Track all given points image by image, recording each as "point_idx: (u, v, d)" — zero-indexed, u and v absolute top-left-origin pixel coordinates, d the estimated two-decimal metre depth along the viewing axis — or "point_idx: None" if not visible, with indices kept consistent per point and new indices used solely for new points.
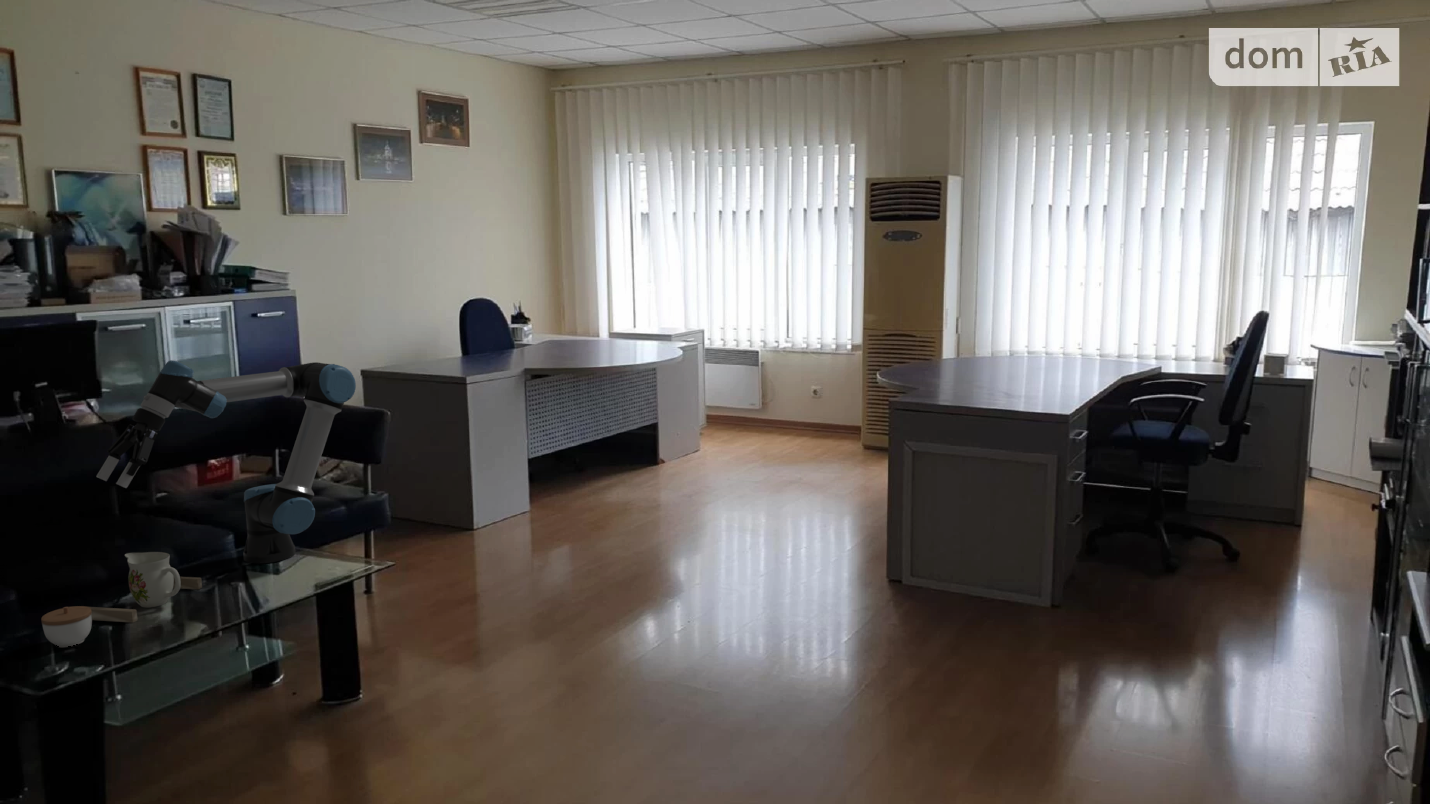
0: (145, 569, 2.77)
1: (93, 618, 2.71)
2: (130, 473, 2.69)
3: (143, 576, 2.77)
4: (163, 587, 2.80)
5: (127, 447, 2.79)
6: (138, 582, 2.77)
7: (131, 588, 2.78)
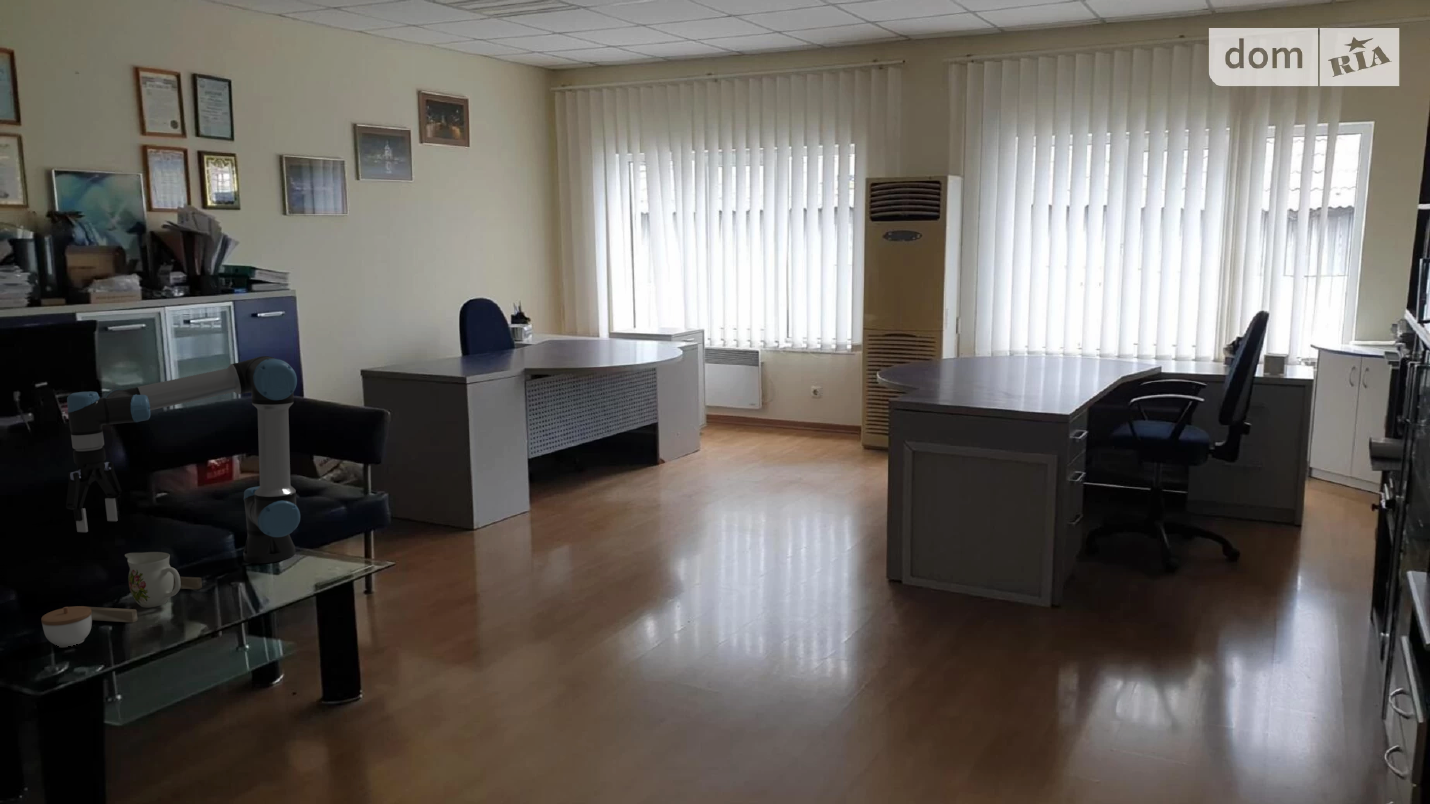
0: (145, 569, 2.77)
1: (93, 618, 2.71)
2: (76, 519, 2.75)
3: (143, 576, 2.77)
4: (163, 587, 2.80)
5: (105, 485, 2.84)
6: (138, 582, 2.77)
7: (131, 588, 2.78)
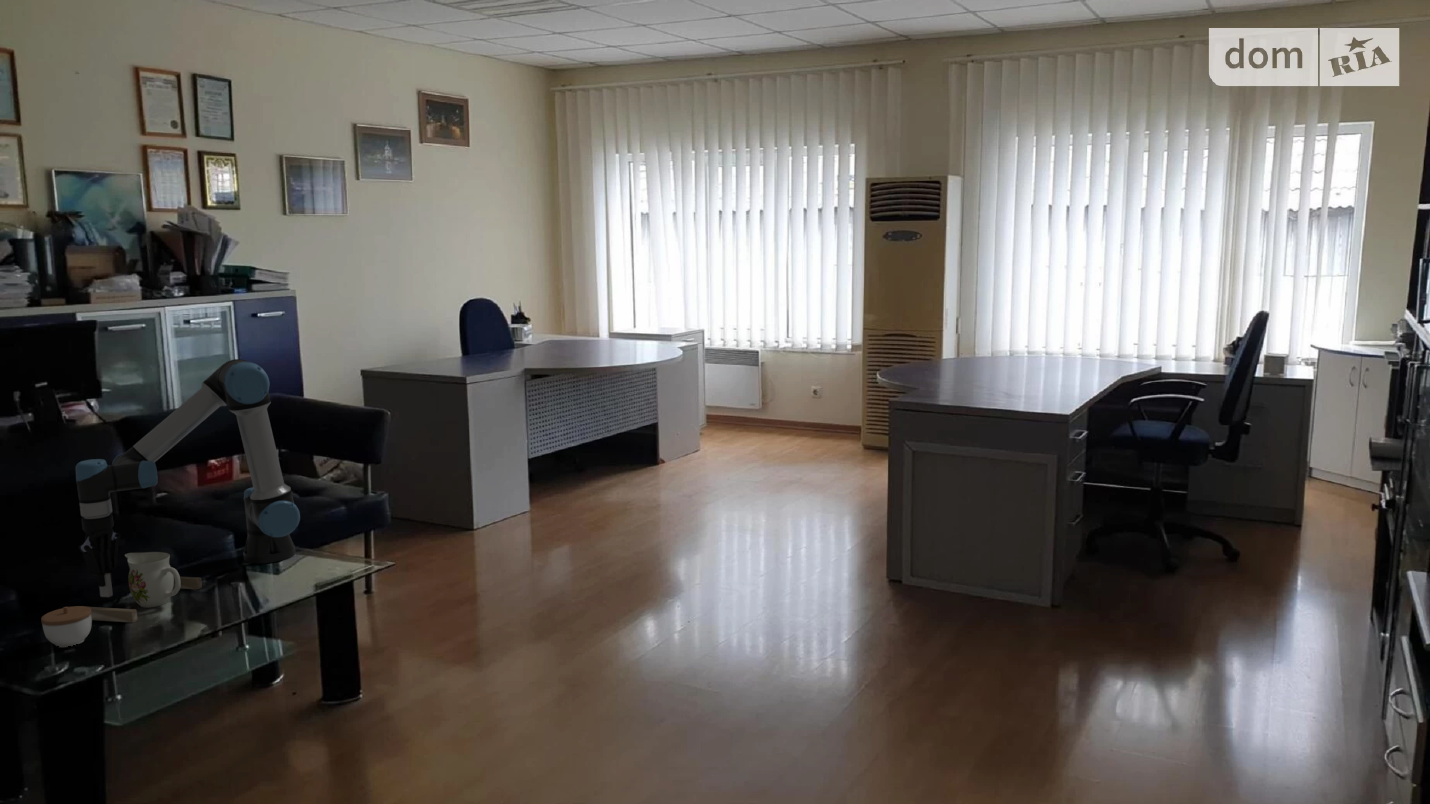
0: (145, 569, 2.77)
1: (93, 618, 2.71)
2: (99, 585, 2.83)
3: (143, 576, 2.77)
4: (163, 587, 2.80)
5: (105, 555, 2.84)
6: (138, 582, 2.77)
7: (131, 588, 2.78)
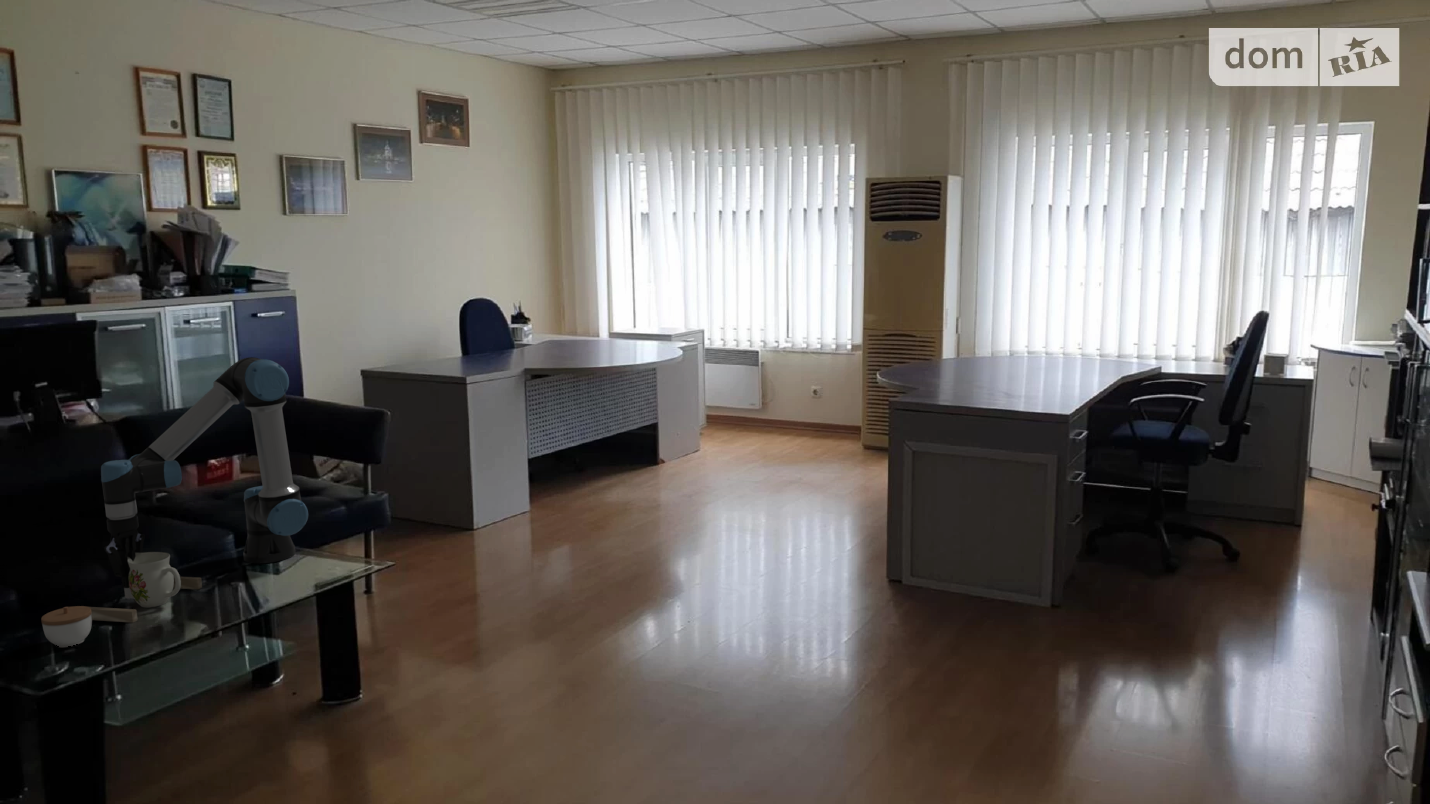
0: (145, 569, 2.77)
1: (93, 618, 2.71)
2: (124, 586, 2.82)
3: (144, 576, 2.77)
4: (163, 587, 2.80)
5: (130, 556, 2.83)
6: (138, 582, 2.77)
7: (131, 588, 2.78)
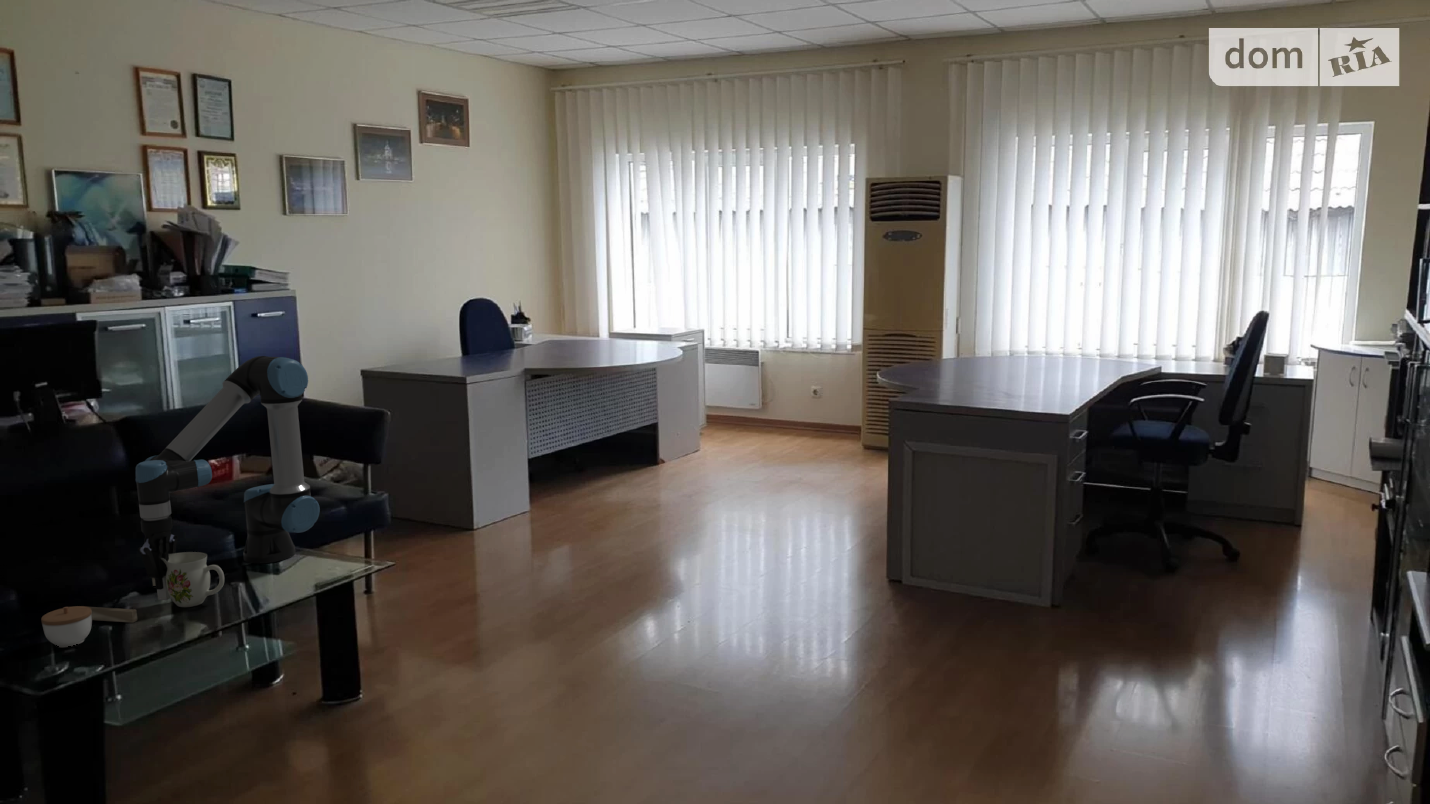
0: (189, 568, 2.77)
1: (93, 618, 2.71)
2: (157, 587, 2.80)
3: (187, 575, 2.77)
4: (205, 585, 2.81)
5: (163, 557, 2.81)
6: (182, 582, 2.76)
7: (172, 588, 2.77)
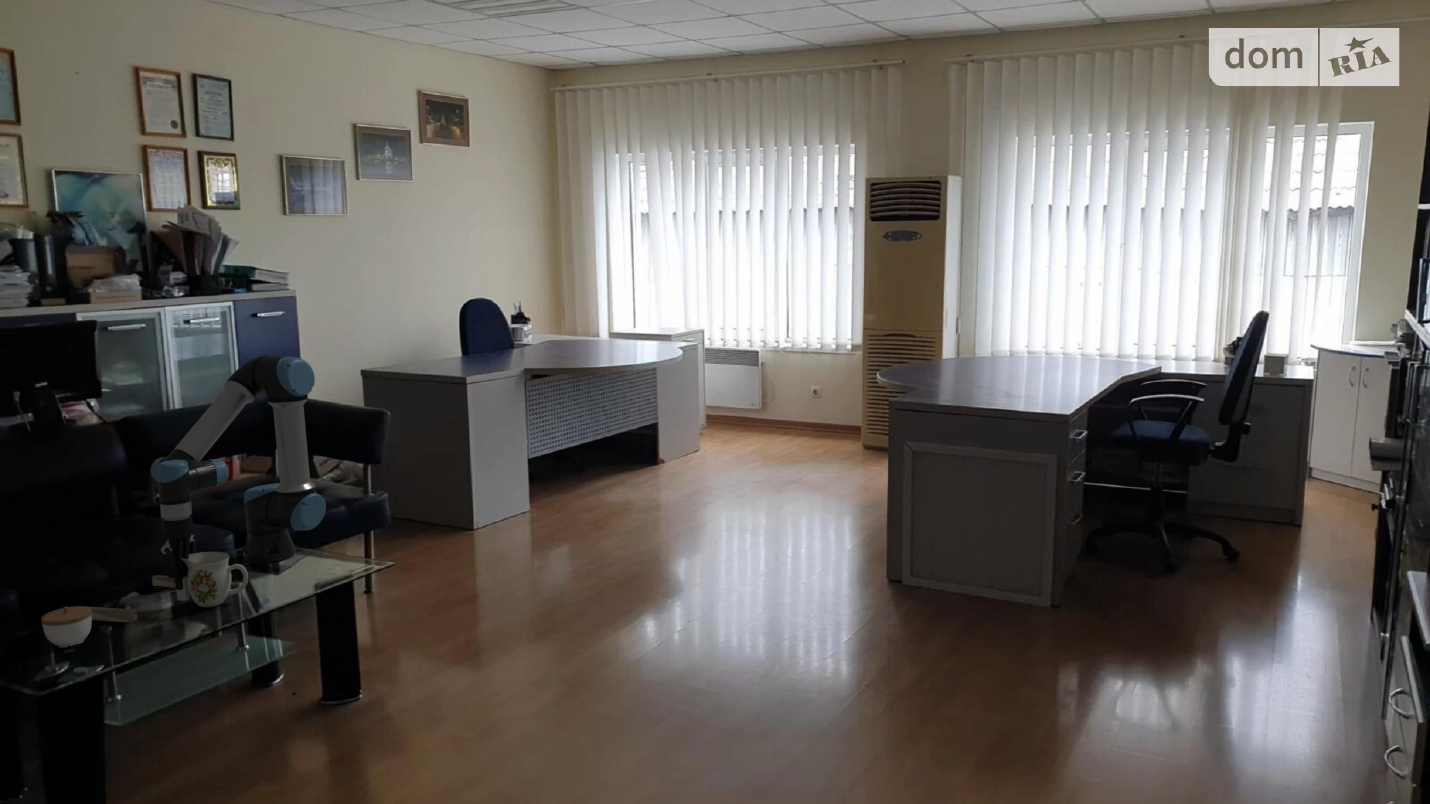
0: (215, 568, 2.77)
1: (93, 618, 2.71)
2: (177, 588, 2.78)
3: (213, 575, 2.77)
4: (228, 585, 2.81)
5: (183, 557, 2.79)
6: (208, 582, 2.76)
7: (197, 589, 2.76)
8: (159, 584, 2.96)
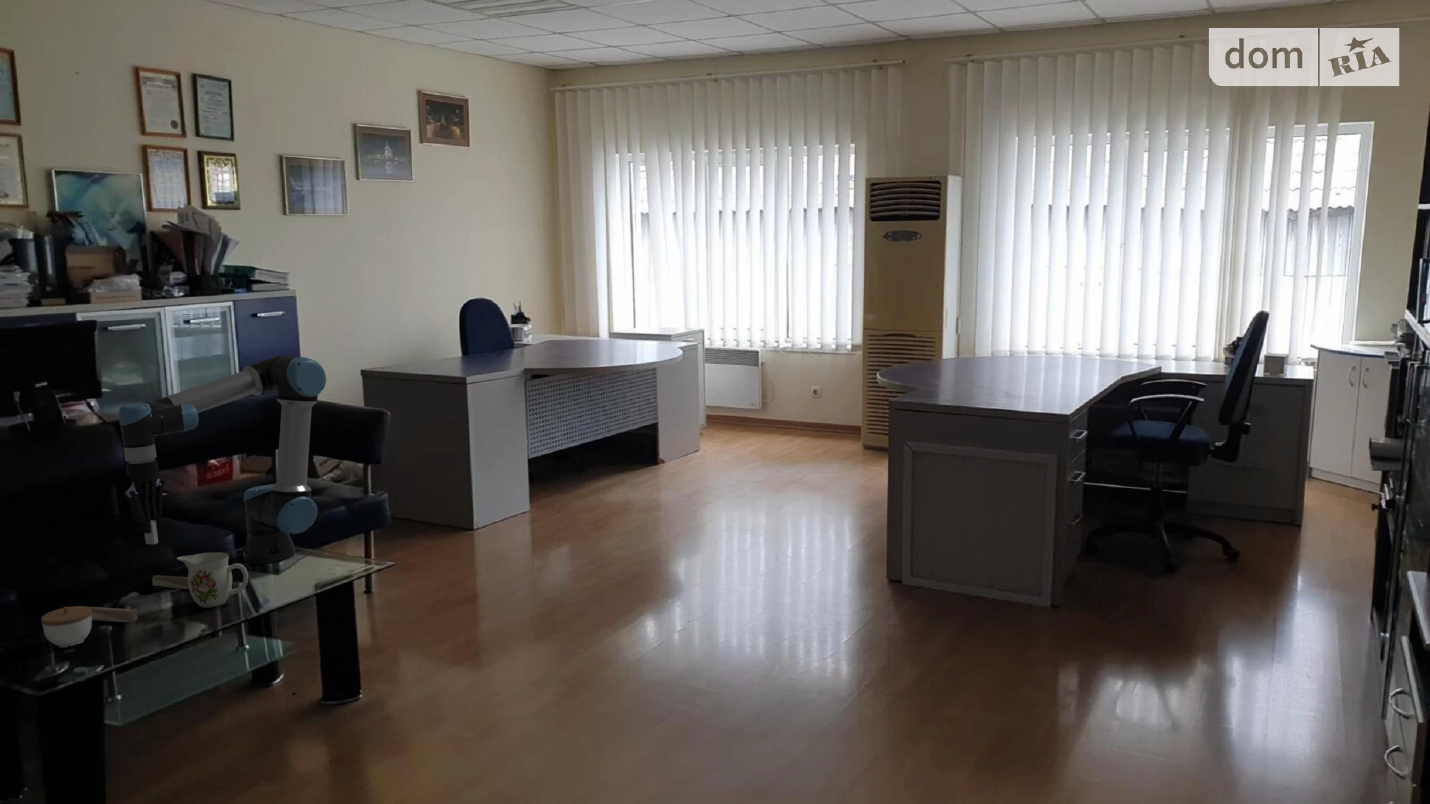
0: (214, 568, 2.77)
1: (93, 618, 2.71)
2: (144, 532, 2.78)
3: (213, 575, 2.77)
4: (229, 584, 2.81)
5: (150, 501, 2.79)
6: (207, 582, 2.76)
7: (197, 589, 2.76)
8: (159, 584, 2.96)
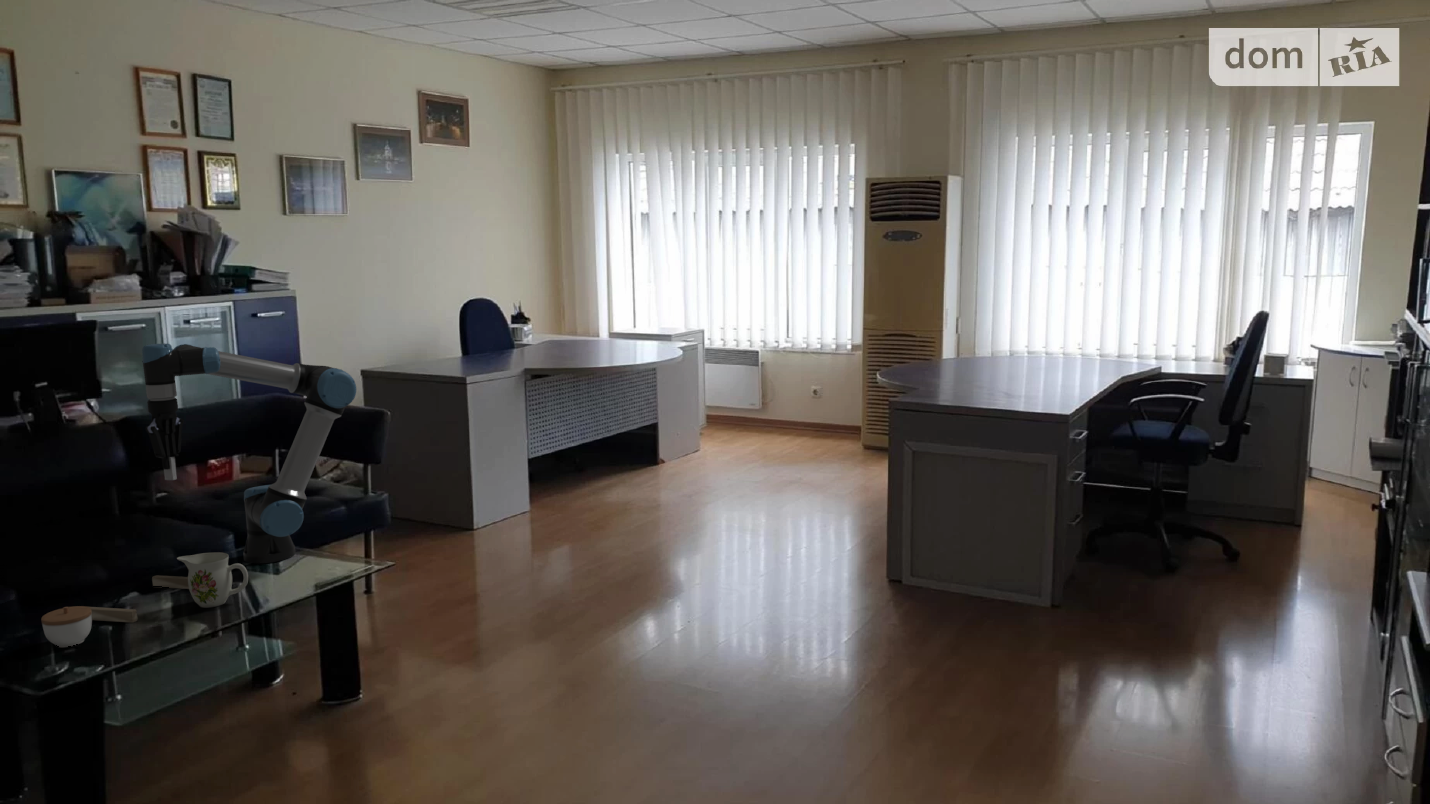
0: (214, 568, 2.77)
1: (93, 618, 2.71)
2: (164, 467, 2.88)
3: (213, 575, 2.77)
4: (229, 584, 2.81)
5: (170, 438, 2.89)
6: (207, 582, 2.76)
7: (197, 589, 2.76)
8: (159, 584, 2.96)
